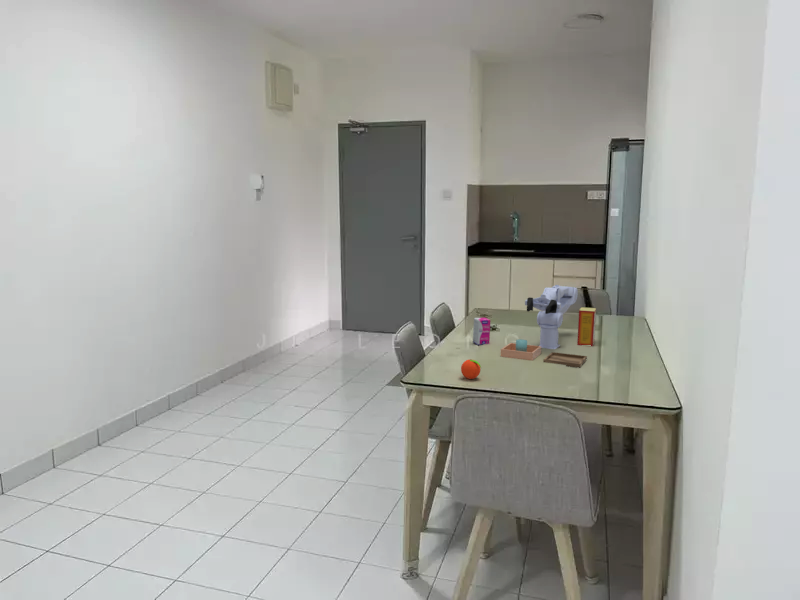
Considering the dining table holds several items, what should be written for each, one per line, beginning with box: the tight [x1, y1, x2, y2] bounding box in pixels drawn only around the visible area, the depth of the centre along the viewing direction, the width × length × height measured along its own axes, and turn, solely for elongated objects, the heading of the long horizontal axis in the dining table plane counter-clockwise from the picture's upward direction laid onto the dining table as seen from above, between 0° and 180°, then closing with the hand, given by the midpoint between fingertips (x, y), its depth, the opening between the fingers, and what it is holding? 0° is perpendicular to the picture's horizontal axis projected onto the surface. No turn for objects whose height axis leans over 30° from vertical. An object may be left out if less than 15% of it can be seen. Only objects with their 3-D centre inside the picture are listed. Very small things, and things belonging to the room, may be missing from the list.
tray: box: [542, 351, 588, 368], centre depth 242 cm, size 14×14×2 cm
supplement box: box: [472, 317, 491, 346], centre depth 271 cm, size 6×6×12 cm
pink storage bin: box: [500, 342, 542, 361], centre depth 250 cm, size 13×13×4 cm
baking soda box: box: [576, 306, 597, 347], centre depth 273 cm, size 10×6×16 cm
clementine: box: [460, 359, 482, 380], centre depth 216 cm, size 8×7×7 cm
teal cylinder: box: [515, 338, 528, 352], centre depth 250 cm, size 4×4×6 cm
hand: (536, 310), depth 245 cm, fingers open, 7 cm apart
